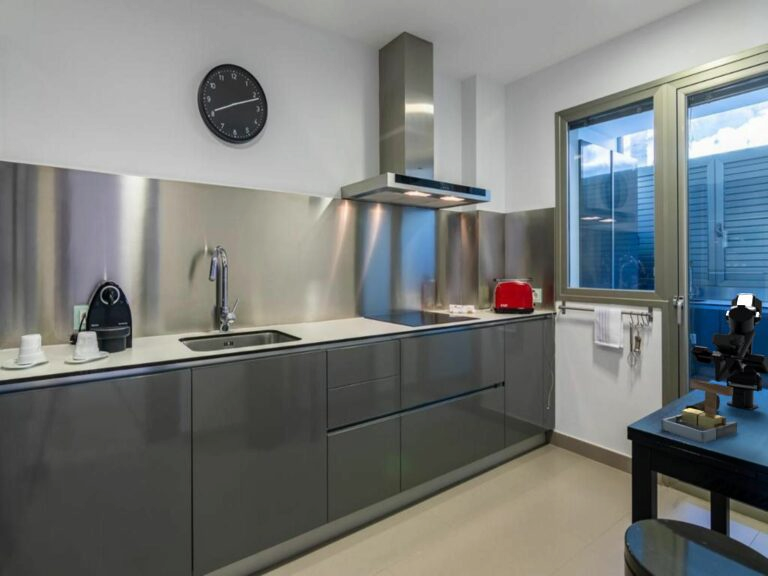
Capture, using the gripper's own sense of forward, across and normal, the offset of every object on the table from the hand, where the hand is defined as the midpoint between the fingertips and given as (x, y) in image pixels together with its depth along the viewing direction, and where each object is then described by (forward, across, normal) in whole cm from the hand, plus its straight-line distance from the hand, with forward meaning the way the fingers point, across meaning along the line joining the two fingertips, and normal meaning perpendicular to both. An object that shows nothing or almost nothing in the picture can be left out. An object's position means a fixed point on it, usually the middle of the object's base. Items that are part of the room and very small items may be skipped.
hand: (717, 380), depth 124 cm
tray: (+20, 0, -1) cm, 20 cm away
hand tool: (+4, -7, +15) cm, 17 cm away
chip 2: (+14, +2, +3) cm, 14 cm away
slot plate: (+14, 0, +5) cm, 15 cm away
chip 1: (+14, -2, +3) cm, 14 cm away
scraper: (+11, 0, +5) cm, 12 cm away
